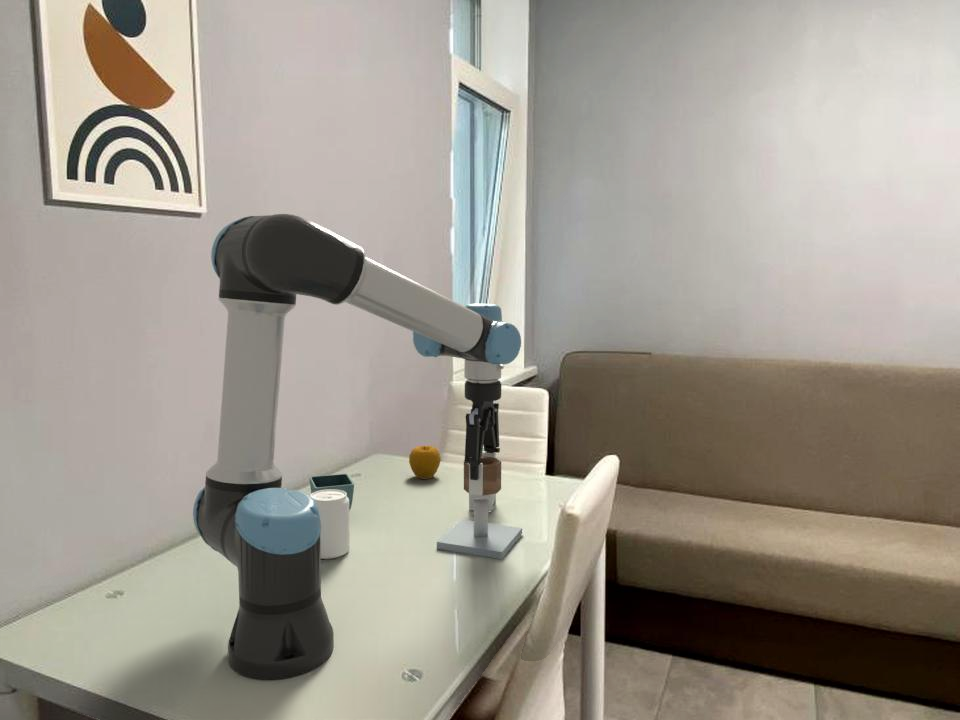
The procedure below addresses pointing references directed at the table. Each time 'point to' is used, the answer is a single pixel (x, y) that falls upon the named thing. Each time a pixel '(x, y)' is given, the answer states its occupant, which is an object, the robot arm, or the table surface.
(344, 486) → the flower pot
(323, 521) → the beverage can
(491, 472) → the collar
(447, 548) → the post block
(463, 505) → the table surface
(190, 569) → the table surface
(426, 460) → the apple
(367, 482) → the table surface
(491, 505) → the syrup box
